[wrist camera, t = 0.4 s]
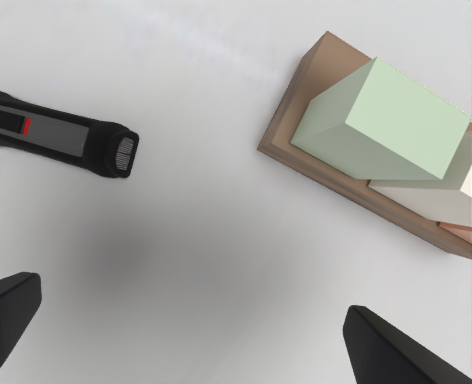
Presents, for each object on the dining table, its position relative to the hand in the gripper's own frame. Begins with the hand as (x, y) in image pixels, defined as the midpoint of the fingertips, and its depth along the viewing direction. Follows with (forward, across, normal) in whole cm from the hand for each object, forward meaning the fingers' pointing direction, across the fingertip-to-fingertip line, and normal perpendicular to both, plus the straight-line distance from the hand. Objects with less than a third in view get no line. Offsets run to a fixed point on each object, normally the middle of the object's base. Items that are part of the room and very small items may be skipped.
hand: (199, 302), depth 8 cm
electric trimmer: (+14, +13, -2) cm, 19 cm away
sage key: (+11, -7, -4) cm, 14 cm away
